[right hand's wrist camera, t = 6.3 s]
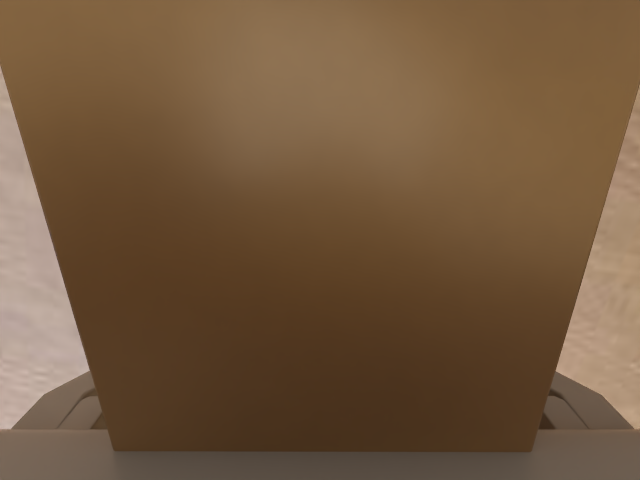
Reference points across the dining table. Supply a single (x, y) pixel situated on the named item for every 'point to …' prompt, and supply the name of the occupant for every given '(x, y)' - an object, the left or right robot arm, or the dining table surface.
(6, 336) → the dining table surface
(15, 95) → the box
